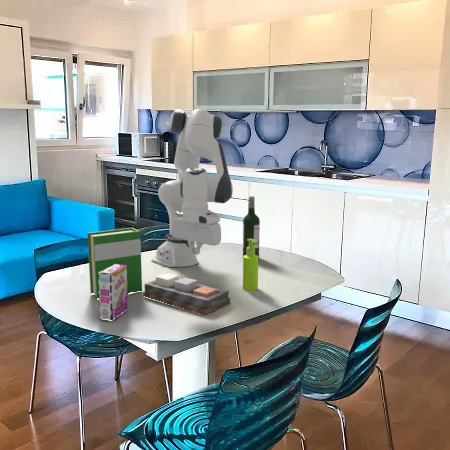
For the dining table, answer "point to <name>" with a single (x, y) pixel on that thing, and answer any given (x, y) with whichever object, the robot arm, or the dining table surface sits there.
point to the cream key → (166, 280)
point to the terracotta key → (205, 291)
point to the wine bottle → (251, 227)
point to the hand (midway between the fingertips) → (195, 253)
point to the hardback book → (115, 256)
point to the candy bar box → (113, 291)
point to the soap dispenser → (250, 268)
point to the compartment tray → (187, 298)
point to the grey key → (185, 284)
